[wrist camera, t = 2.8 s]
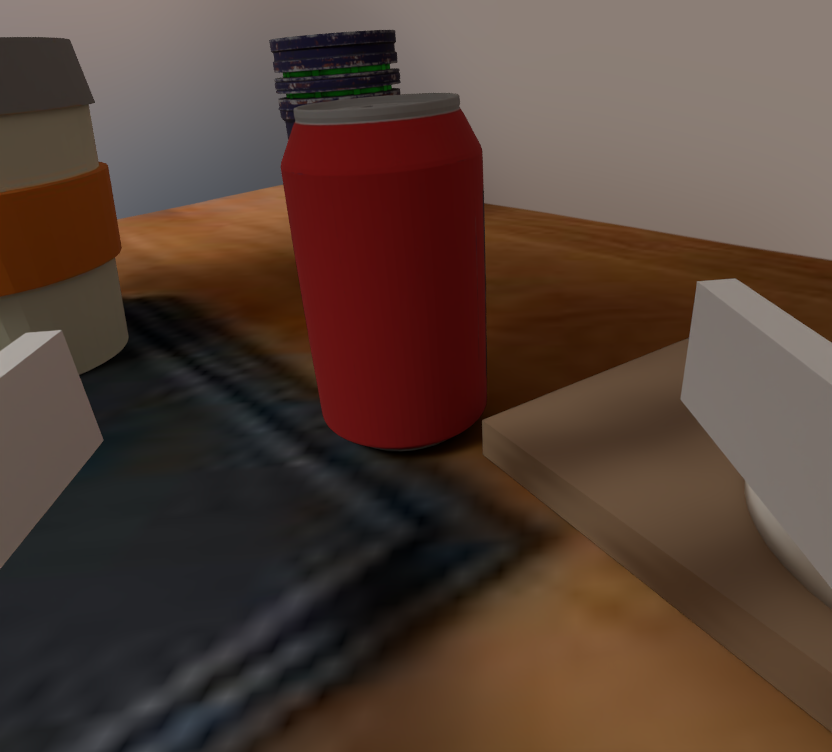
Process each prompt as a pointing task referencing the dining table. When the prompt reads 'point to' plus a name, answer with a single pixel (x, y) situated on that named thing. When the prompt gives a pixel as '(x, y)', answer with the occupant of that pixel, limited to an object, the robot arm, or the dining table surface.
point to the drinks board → (675, 516)
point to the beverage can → (391, 265)
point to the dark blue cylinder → (333, 68)
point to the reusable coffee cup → (55, 206)
